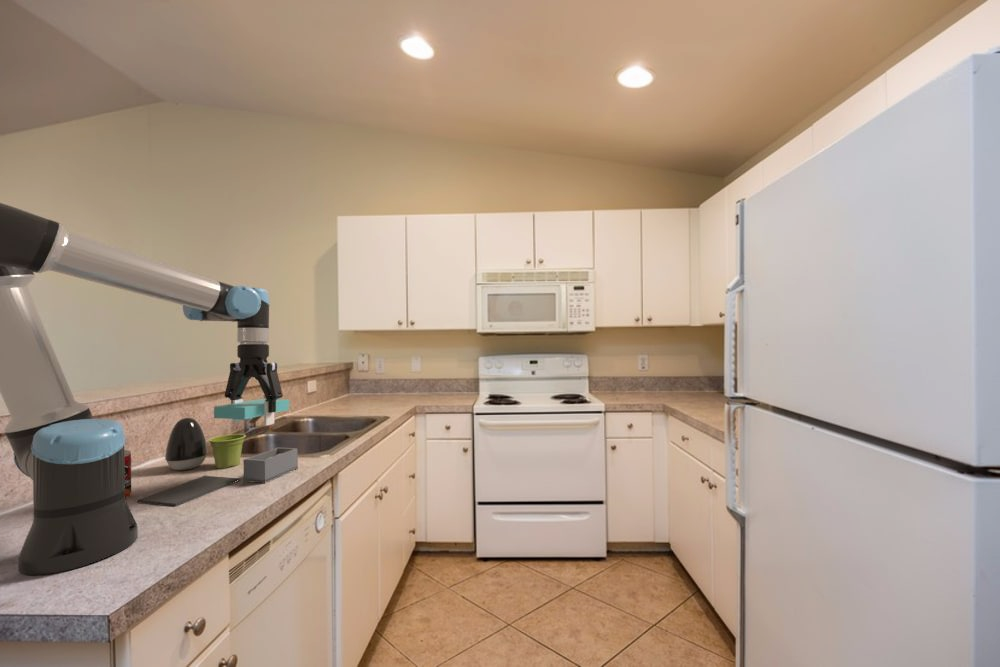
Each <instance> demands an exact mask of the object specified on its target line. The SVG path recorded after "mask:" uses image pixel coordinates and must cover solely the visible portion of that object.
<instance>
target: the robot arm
mask: <svg viewBox="0 0 1000 667" xmlns="http://www.w3.org/2000/svg"><path fill="white" fill-rule="evenodd" d="M48 271H49V272H55V273H60V274H63V275H66V276H70V277H73V278H78V279H81V280H86V281H89V282H94V283H97V284H101V285H105V286H109V287H112V288H115V289H116V288H117V289H120V290H124V291H126V292H128V291H129V292H132V293H136V294H138V295H143V296H147V297H150V298H155V299H158V300H162V301H166V302H168V303H172V304H176V305H181V306H182V311H183V315H184V317H185V318H186V319H187V320H189V321H200V322H203V321H205V322H232V323H233V322H236V324H237V326H236V328H237V329H236V330H237V332H236V333H237V334H236V336H237V337H236V338H237V339H236V341H237V343H239V344H238V345H237V348H236V349H237V353H236V354H237V358H239V359H240V360H239V362H230V364H229V375H228V379H227V383H226V388H225V391H224V398H226V399H227V398H228V399H229V400H230V404H233V403H239V402H244V398H243V394H244V391H245V389H246V387H247V385H248V383H249V380H251V379H252V378H255V381H257V382H258V384H259V386H260V388H261V390H262V392H263V394H264V396H265V399H266V400H265V401H264V415H263V426H270V425H274V424H275V413H274V412H276V400H277V399H280V398H281V399H282V398H283V397H284V396H283V394H284V393H283V391H282V386H281V382H280V378H279V375H278V363H277V362H268V357H270V345H269V344H267V343H269V342H270V340H269V339H270V306H271V305H270V296H269V292H268V290H267V289H265V288H260V287H250V286H246V285H237V286H234V285H231V284H227V283H225V282H221V281H218V280H216V279H212V278H210V277H207V276H203V275H200V274H197V273H194V272H191V271H188V270H185V269H183V268H179V267H176V266H173V265H169V264H167V263H165V262H164V263H163V262H161V261H157V260H155V259H152V258H148V257H146V256H143V255H140V254H136V253H133V252H130V251H129V250H128V251H127V250H124V249H121V248H119V247H115V246H112V245H110V244H106V243H103V242H100V241H97V240H93V239H91V238H89V237H84V236H82V235H78V234H76V233H72V232H69V231H67V229H66V228H65V227H64V226H63V224H62V223H60V222H57V221H54V220H52V219H48V218H45V217H43V216H41V215H37V214H34V213H31V212H28V211H27V210H26V211H25V210H24V209H23V210H22V209H21V208H17V207H14V206H12V205H8V204H5V203H2V202H0V396H1V397H2V399H3V402H4V405H5V406H6V408H7V411H8V412H9V414H10V418H11V419H10V422H8V424H7V425H6V427H5V428H4V429H3V431H4V434H5V436H6V438H7V440H8V442H9V445H10V446H11V449H12V451H13V454H12V455H13V461H14V464H15V466H16V467H17V469H18V470H19V471H20V472H21V473H22V474H23V475H25V476H26V477H29V478H30V479H31V480H32V488H33V490H32V493H33V494H32V495H33V496H32V497H33V501H32V502H33V520H32V524H31V525H30V526H31V527H30V529H29V531H28V533H27V536H26V538H25V540H24V542H23V545H22V548H21V550H20V552H19V554H18V563H17V564H18V571H19V573H21V574H22V575H28V576H30V575H31V576H32V575H33V576H38V575H49V574H54V573H60V572H65V571H70V570H72V569H78V568H80V567H84V566H87V565H89V564H90V563H91V564H94V563H95V562H96V561H97V562H99V561H102V560H104V558H105V559H107V558H109V557H111V556H110V555H112V556H114V555H116V554H119V553H120V552H122V551H123V550H126V549H127V548H129V547H130V546H132V545H133V544H134V543H135V542H136V541H137V539H138V537H139V533H138V532H139V531H138V530H139V529H138V528H139V527H138V523H137V521H136V519H135V518H134V515H133V513H132V511H131V509H130V507H129V505H128V503H127V501H126V498H125V460H124V450H125V444H126V435H125V433H124V432H125V430H124V427H123V425H122V424H121V423H120V422H119V421H117V420H113V419H110V418H109V419H107V418H103V419H100V418H95V417H94V416H93V413H92V412H91V409H90V406H89V405H88V404H84V403H82V402H78V401H76V400H75V398H74V395H73V393H72V390H71V388H70V386H69V384H68V380H67V378H66V377H65V373H64V372H63V370H62V367H61V364H60V361H59V359H58V357H57V355H56V352H55V350H54V347H53V345H52V342H51V341H50V338H49V335H48V333H47V330H46V329H45V326H44V323H43V321H42V319H41V316H40V314H39V311H38V310H37V307H36V304H35V302H34V300H33V298H32V297H33V296H32V295H31V292H30V290H29V284H30V283H31V282H32V281H34V279H35V277H36V275H35V273H36V274H42V273H46V272H48ZM231 420H232V425H237V424H241V423H244V419H231ZM113 554H114V555H113ZM108 556H109V557H108ZM106 557H107V558H106ZM101 559H102V560H101ZM93 562H94V563H93Z"/></svg>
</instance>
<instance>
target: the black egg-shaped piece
mask: <svg viewBox="0 0 1000 667" xmlns="http://www.w3.org/2000/svg"><path fill="white" fill-rule="evenodd" d="M207 455H208V445H207V440H206V436H205V434H204V431H203V429H202V427H201V425H200V424H199V422H198V421H197V420H196V419H195V418H191V417H185V418H182V419H179V420H178V421H177V422H176V423H175V424H174V426H173V427H172V429H171V432H170V434H169V438H168V440H167V445H166V449H165V455H164V456H165V457H164V459H165V461H166V462H167V465H168V466H169V468H170V469H172V470H174V471H186V469H188V470H191V468H193V469H195V467H196V468H197V467H199V466H201V465H202V464H203V463H204V461H205V459H206V457H207Z"/></svg>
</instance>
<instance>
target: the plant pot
mask: <svg viewBox="0 0 1000 667" xmlns="http://www.w3.org/2000/svg"><path fill="white" fill-rule="evenodd" d="M246 437H247V436H246V434H242V433H238V434H237V433H233V434H225V435H219V436H213V437H211V438H209V439H208V442H209V443H210V446H211V447H212V453H213V454H212V455H213V457H214V464H215V468H217V469H225V468H224V467H228V468H230V467H236V466H239V465H240V463H241V462H240V461H241V456H242V450H243V444H244V441H245V438H246ZM235 465H236V466H235Z"/></svg>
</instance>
